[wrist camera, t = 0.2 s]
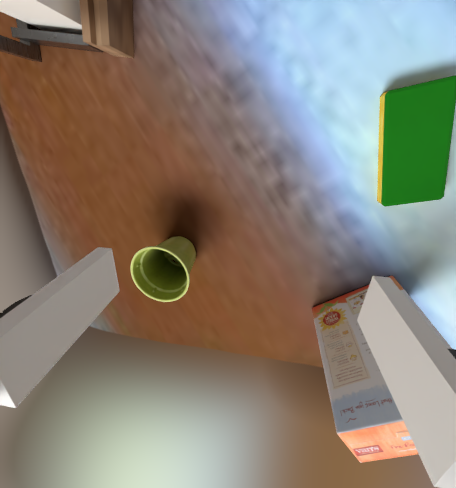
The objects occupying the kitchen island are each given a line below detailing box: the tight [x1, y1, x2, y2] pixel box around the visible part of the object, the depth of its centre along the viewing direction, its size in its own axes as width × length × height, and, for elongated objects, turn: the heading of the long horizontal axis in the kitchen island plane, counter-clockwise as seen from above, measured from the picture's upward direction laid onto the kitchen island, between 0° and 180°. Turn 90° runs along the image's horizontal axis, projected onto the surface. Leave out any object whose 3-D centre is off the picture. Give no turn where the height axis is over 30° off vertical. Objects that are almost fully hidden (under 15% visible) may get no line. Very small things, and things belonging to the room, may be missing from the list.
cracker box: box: [312, 276, 452, 462], centre depth 33 cm, size 14×6×21 cm, turn 125°
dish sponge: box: [377, 76, 456, 206], centre depth 31 cm, size 7×14×2 cm, turn 12°
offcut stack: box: [79, 0, 134, 58], centre depth 30 cm, size 8×3×6 cm, turn 173°
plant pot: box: [131, 236, 196, 302], centre depth 41 cm, size 9×9×9 cm
